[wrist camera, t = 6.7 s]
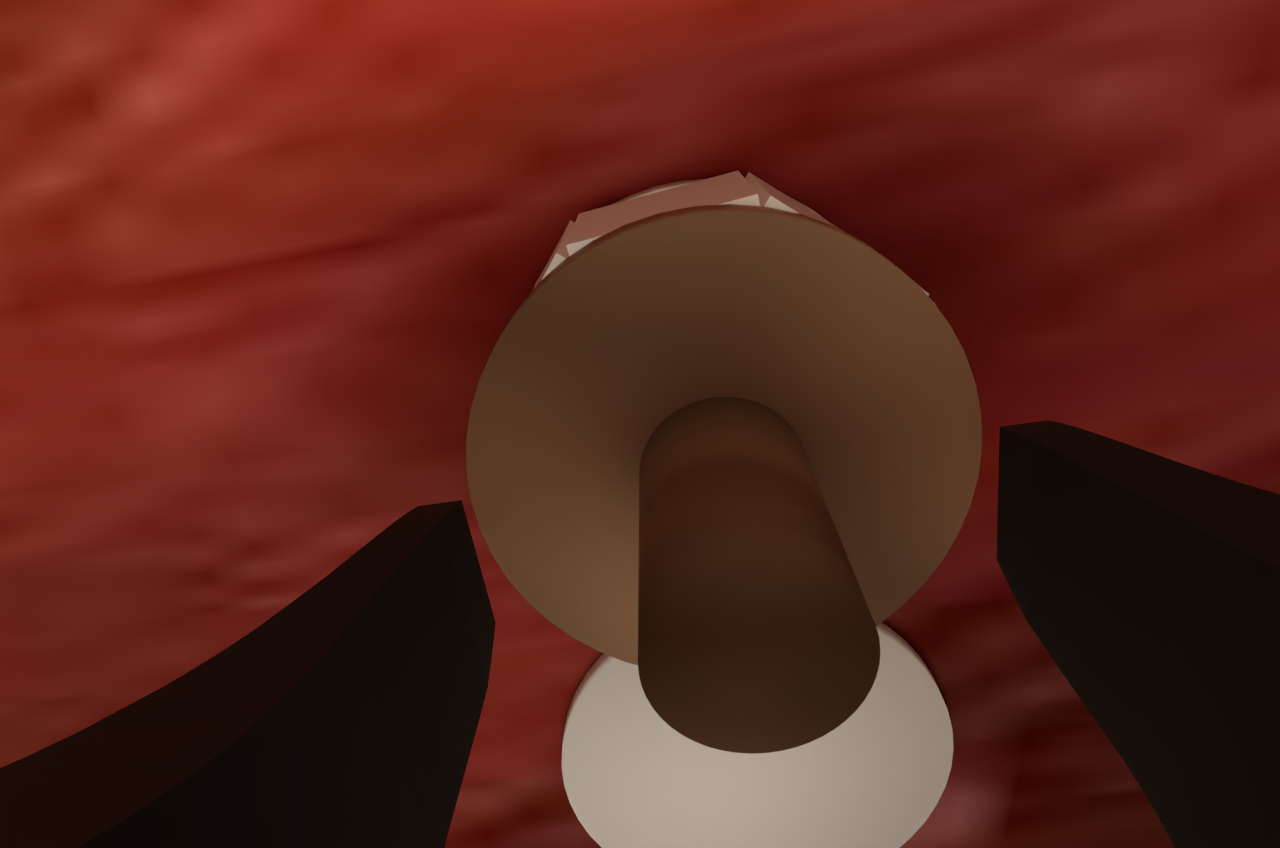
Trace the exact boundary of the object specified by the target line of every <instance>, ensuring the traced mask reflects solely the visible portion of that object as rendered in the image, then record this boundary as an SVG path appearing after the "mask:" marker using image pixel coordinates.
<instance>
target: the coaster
mask: <svg viewBox="0 0 1280 848" xmlns="http://www.w3.org/2000/svg"><path fill="white" fill-rule="evenodd" d="M876 628H877V631H878V635H879V640H880V664H879V668H878V672H877V676H876V679H875V681H874V684H873V686H872V688H871V690H870V692H869V694H868V695H867V697H866V699H865V700H864V701H863V703H862V704H861V705H860V707H859V708H858V709H857V710H856V711H855V712H854V713H853V714H852V715H851V716H850V717H849V718H848V719H847V720H846V721H845V722H843V723H842V724H841V725H840V726H838V727H837V728H836V729H834V730H832V731H831V732H829V733H828V734H826V735H824V736H822V737H820V738H818V739H816V740H814V741H812V742H810V743H807V744H804V745H801V746H798V747H795V748H791V749H787V750H783V751H777V752H770V753H755V754H749V753H735V752H728V751H722V750H718V749H714V748H711V747H707V746H705V745H702V744H700V743H697V742H694V741H693V740H691V739H689V738H687V737H685V736H683V735H681V734H680V733H679V732H677V731H676V730H674V729H673V728H671V727H670V726H669V725H668V724H667V723H666V722H665V721H664V720H662V719H661V717H660V716H659V715H658V714H657V713H656V711H655V710H654V709H653V708H652V706H651V704H650V703H649V701H648V699H647V698H646V695H645V693H644V691H643V688H642V686H641V681H640V677H639V671H638V665H635V664H631V663H627V662H624V661H622V660H619V659H617V658H614V657H612V656H609V655H607V654H604V653H603V654H602V655H601V656H600V657H599V658H598V660H597V661H596V662H595V663H594V664H593V666H592V667H591V668H590V669H589V671H588V672H587V673H586V675H585V677H584V678H583V680H582V682H581V683H580V685H579V687H578V688H577V690H576V692H575V695H574V697H573V700H572V702H571V705H570V707H569V710H568V714H567V719H566V724H565V728H564V737H563V745H562V773H563V780H564V786H565V789H566V792H567V796H568V799H569V802H570V804H571V806H572V808H573V810H574V812H575V814H576V816H577V818H578V820H579V821H580V823H581V824H582V825H583V827H584V828H585V830H586V831H587V832H588V834H589V835H590V836H591V837H592V838H593V839H594V840H595V841H596V842H597V843H598V844H599V846H600V847H601V848H900V847H901V846H902V845H903V844H904V843H905V842H907V841H908V840H909V839H910V838H911V837H912V836H913V835H914V834H915V833H916V832H917V830H918V829H919V828H920V827H921V826H922V825H923V824H924V823H925V821H926V820H927V819H928V817H929V816H930V814H931V813H932V811H933V810H934V808H935V807H936V805H937V803H938V801H939V799H940V797H941V795H942V793H943V791H944V789H945V787H946V784H947V780H948V777H949V773H950V770H951V765H952V757H953V749H954V748H953V730H952V725H951V721H950V717H949V713H948V709H947V707H946V705H945V702H944V700H943V698H942V696H941V693H940V691H939V689H938V687H937V685H936V682H935V680H934V678H933V676H932V674H931V672H930V671H929V669H928V668H927V666H926V665H925V663H924V662H923V660H922V659H921V657H920V656H919V655H918V654H917V653H916V652H915V651H914V649H913V648H912V647H911V646H910V645H909V644H908V643H907V642H906V641H905V640H904V639H903V638H902V637H900V636H899V635H898V634H897V633H895V632H894V631H893V630H892V629H890V628H889V627H888V626H886V625H885V624H883V623H880V624H879V625H877V626H876Z"/></svg>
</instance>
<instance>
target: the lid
mask: <svg viewBox="0 0 1280 848" xmlns="http://www.w3.org/2000/svg"><path fill="white" fill-rule="evenodd" d="M981 452H982V417H981V410H980V404H979V398H978V393H977V387H976V383H975V380H974V377H973V374H972V371H971V368H970V365H969V363H968V360H967V357H966V354H965V352H964V350H963V348H962V346H961V344H960V343H959V341H958V339H957V337H956V335H955V333H954V331H953V329H952V327H951V325H950V324H949V323H948V321H947V320H946V319H945V317H944V316H943V315H942V313H941V312H940V311H939V309H938V308H937V307H936V305H935V304H934V302H933V301H932V300H931V299H930V298H929V297H928V296H927V295H926V294H925V293H924V292H923V291H922V290H921V289H920V288H919V287H918V286H917V285H916V284H915V283H914V282H913V281H912V280H911V279H910V278H909V277H908V276H907V275H906V274H905V273H904V272H903V271H901V270H900V269H899V268H898V267H897V266H895V265H894V264H893V263H892V262H891V261H889V260H888V259H886V258H885V257H884V256H882V255H881V254H880V253H878V252H877V251H876V250H874V249H873V248H871V247H870V246H869V245H867V244H866V243H865V242H863V241H861V240H859V239H857V238H856V237H854V236H852V235H850V234H848V233H846V232H844V231H842V230H841V229H839V228H837V227H835V226H833V225H830V224H827V223H824V222H822V221H819V220H816V219H813V218H811V217H808V216H805V215H802V214H799V213H794V212H789V211H785V210H780V209H775V208H770V207H764V206H751V205H738V204H722V205H705V206H693V207H688V208H682V209H677V210H672V211H667V212H662V213H658V214H655V215H652V216H649V217H646V218H643V219H640V220H637V221H634V222H631V223H628V224H625V225H623V226H621V227H619V228H617V229H615V230H613V231H611V232H609V233H607V234H605V235H603V236H601V237H599V238H597V239H595V240H593V241H591V242H590V243H589V244H587V245H586V246H584V247H583V248H581V249H580V250H578V251H577V252H575V253H574V254H572V255H571V256H569V257H568V258H566V259H565V260H564V261H562V262H561V263H560V264H559V265H558V266H557V267H556V268H555V269H553V270H552V271H551V272H550V273H549V274H548V275H547V276H546V277H544V278H543V279H542V280H541V281H540V282H539V283H538V284H537V285H536V287H535V288H534V289H533V290H532V291H531V292H530V294H529V295H528V296H527V297H526V298H525V300H524V301H523V302H522V303H521V304H520V305H519V307H518V308H517V310H516V311H515V313H514V314H513V316H512V317H511V319H510V321H509V322H508V324H507V325H506V327H505V328H504V330H503V332H502V333H501V335H500V337H499V339H498V341H497V343H496V345H495V347H494V349H493V351H492V353H491V355H490V357H489V359H488V362H487V364H486V366H485V368H484V370H483V373H482V375H481V377H480V379H479V382H478V386H477V389H476V392H475V396H474V399H473V403H472V406H471V410H470V416H469V424H468V431H467V439H466V472H467V478H468V484H469V491H470V497H471V502H472V505H473V509H474V512H475V515H476V518H477V521H478V525H479V528H480V530H481V532H482V535H483V537H484V539H485V541H486V543H487V545H488V547H489V549H490V551H491V553H492V556H493V557H494V559H495V560H496V562H497V563H498V565H499V566H500V568H501V569H502V571H503V572H504V574H505V575H506V577H507V578H508V580H509V581H510V582H511V583H512V584H513V586H514V587H515V588H516V589H517V590H518V591H519V593H520V594H521V595H522V596H523V597H524V598H525V600H526V601H527V602H528V603H529V604H531V605H532V606H533V607H534V608H535V609H536V610H537V611H538V612H539V613H541V614H542V615H543V616H544V617H545V618H546V619H547V620H548V621H550V622H551V623H553V624H554V625H555V626H557V627H558V628H560V629H561V630H563V631H564V632H565V633H567V634H568V635H570V636H571V637H573V638H575V639H576V640H578V641H580V642H582V643H584V644H586V645H588V646H589V647H591V648H593V649H595V650H597V651H599V652H602V653H604V654H607V655H609V656H612V657H614V658H617V659H619V660H622V661H624V662H627V663H631V664H635V665H638V671H639V677H640V681H641V686H642V688H643V691H644V693H645V695H646V698H647V699H648V701H649V703H650V704H651V706H652V708H653V709H654V710H655V711H656V713H657V714H658V715H659V716H660V717H661V719H662V720H664V721H665V722H666V723H667V724H668V725H669V726H670V727H671V728H673V729H674V730H676V731H677V732H679V733H680V734H681V735H683V736H685V737H687V738H689V739H691V740H693V741H694V742H697V743H700V744H702V745H705V746H707V747H711V748H714V749H718V750H722V751H728V752H735V753H749V754H755V753H770V752H777V751H783V750H787V749H791V748H795V747H798V746H801V745H804V744H807V743H810V742H812V741H814V740H816V739H818V738H820V737H822V736H824V735H826V734H828V733H829V732H831V731H832V730H834V729H836V728H837V727H838V726H840V725H841V724H842V723H843V722H845V721H846V720H847V719H848V718H849V717H850V716H851V715H852V714H853V713H854V712H855V711H856V710H857V709H858V708H859V707H860V705H861V704H862V703H863V701H864V700H865V699H866V697H867V695H868V694H869V692H870V690H871V688H872V686H873V684H874V681H875V679H876V676H877V672H878V668H879V664H880V640H879V635H878V631H877V628H876V626H877V625H879V624H880V623H882V622H883V621H884V620H885V619H887V618H888V617H889V616H890V615H892V614H893V613H894V612H895V611H896V610H898V609H899V608H900V607H901V606H903V605H904V604H905V603H906V602H907V601H908V600H909V599H910V598H911V597H912V596H913V595H914V594H915V593H916V592H917V591H918V590H919V589H920V588H921V587H922V586H923V585H924V584H925V583H926V581H927V580H928V579H929V577H930V576H931V575H932V573H933V572H934V571H935V570H936V568H937V567H938V566H939V564H940V563H941V562H942V560H943V559H944V558H945V556H946V554H947V552H948V551H949V549H950V547H951V546H952V544H953V542H954V541H955V539H956V537H957V535H958V534H959V532H960V529H961V527H962V525H963V522H964V520H965V518H966V515H967V513H968V510H969V508H970V506H971V502H972V499H973V495H974V491H975V487H976V484H977V480H978V476H979V468H980V460H981Z"/></svg>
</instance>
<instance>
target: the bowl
mask: <svg viewBox="0 0 1280 848" xmlns="http://www.w3.org/2000/svg"><path fill="white" fill-rule="evenodd" d="M722 204H738V205H751V206H764V207H770V208H775V209H780V210H785V211H789V212H794V213H799V214H802V215H805V216H808V217H811V218H813V219H816V220H819V221H822V222H824V223H827V224H830V225H833V224H832V223H830V222H829V221H827V220H826V219H825V218H823V217H822V216H821V215H819V214H818V213H816V212H815V211H814V210H812V209H811V208H810V207H808V206H806V205H804V204H802V203H800V202H798V201H797V200H795V199H793V198H791V197H789V196H787V195H785V194H783V193H782V192H780V191H779V190H777V189H775V188H774V187H772V186H771V185H769V184H767V183H766V182H764V181H763V180H761V179H759V178H758V177H756V176H755V175H753V174H751V173H750V172H749V173H748V174H747V176H746V177H745V178H744V177H743V176H742V174H741V173H740V172H739V171H734V172H730V173H727V174H723V175H719V176H716V177H712V178H708V179H698V180H683V181H678V182H673V183H668V184H663V185H658V186H655V187H652V188H649V189H646V190H643V191H640V192H637V193H634V194H632V195H630V196H628V197H626V198H624V199H622V200H620V201H618V202H616V203H614V204H612V205H609V206H605V207H601V208H597V209H594V210H590V211H586V212H583V213H579V214H578V217H577V219H576V222H573V221H571V220H570V222H569V224H568V226H567V228H566V229H565V231H564V233H563V235H562V237H561V239H560V240H559V242H558V244H557V246H556V248H555V250H554V252H553V253H552V255H551V257H550V259H549V261H548V263H547V265H546V266H545V268H544V270H543V272H542V273H541V275H540V276H539V278H538V280H537V282H536V284H535V286H534V288H535V287H536V285H537V284H538V283H539V282H540V281H541V280H542V279H543V278H544V277H546V276H547V275H548V274H549V273H550V272H551V271H552V270H553V269H555V268H556V267H557V266H558V265H559V264H560V263H561V262H562V261H564V260H565V259H566V258H568V257H569V256H571V255H572V254H574V253H575V252H577V251H578V250H580V249H581V248H583V247H584V246H586V245H587V244H589V243H590V242H591V241H593V240H595V239H597V238H599V237H601V236H603V235H605V234H607V233H609V232H611V231H613V230H615V229H617V228H619V227H621V226H623V225H625V224H628V223H631V222H634V221H637V220H640V219H643V218H646V217H649V216H652V215H655V214H658V213H662V212H667V211H672V210H677V209H682V208H688V207H693V206H705V205H722ZM833 226H835V225H833ZM835 227H836V226H835ZM837 228H838V227H837ZM839 229H840V228H839ZM842 231H843V230H842ZM882 256H883V255H882ZM910 279H911V278H910ZM911 280H912V279H911ZM912 281H913V280H912ZM913 282H914V281H913ZM914 283H915V282H914ZM915 284H916V285H917V286H918V287H919V288H920V289H921V290H922V291H923V292H924V293H925V294H926V295H927V296H929V295H930V294H929V293H928V292H926V291H925V290H924V289H923V288H922V287H920V286H919V285H918V284H917V283H915ZM934 304H935V303H934ZM935 305H936V304H935Z"/></svg>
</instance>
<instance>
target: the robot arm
mask: <svg viewBox="0 0 1280 848" xmlns="http://www.w3.org/2000/svg"><path fill="white" fill-rule="evenodd" d="M997 561H998V563H999V565H1000V567H1001V569H1002V571H1003V573H1004V576H1005V578H1006V580H1007V582H1008V584H1009V586H1010V588H1011V590H1012V592H1013V594H1014V596H1015V598H1016V600H1017V602H1018V604H1019V606H1020V608H1021V610H1022V612H1023V614H1024V616H1025V618H1026V620H1027V621H1028V623H1029V624H1030V626H1031V627H1032V629H1033V630H1034V632H1035V633H1036V635H1037V636H1038V638H1039V639H1040V641H1041V642H1042V644H1043V645H1044V647H1045V648H1046V650H1047V651H1048V653H1049V654H1050V655H1051V657H1052V658H1053V660H1054V661H1055V663H1056V664H1057V666H1058V667H1059V669H1060V670H1061V671H1062V673H1063V674H1064V676H1065V677H1066V679H1067V680H1068V681H1069V683H1070V684H1071V686H1072V687H1073V689H1074V690H1075V691H1076V693H1077V694H1078V696H1079V697H1080V699H1081V700H1082V701H1083V703H1084V704H1085V706H1086V707H1087V709H1088V710H1089V711H1090V713H1091V714H1092V716H1093V717H1094V719H1095V720H1096V721H1097V723H1098V724H1099V726H1100V727H1101V729H1102V730H1103V731H1104V733H1105V734H1106V736H1107V737H1108V739H1109V740H1110V741H1111V743H1112V744H1113V746H1114V747H1115V749H1116V750H1117V751H1118V753H1119V754H1120V756H1121V757H1122V759H1123V760H1124V761H1125V763H1126V764H1127V766H1128V768H1129V769H1130V771H1131V772H1132V774H1133V775H1134V777H1135V779H1136V780H1137V782H1138V783H1139V785H1140V786H1141V788H1142V790H1143V791H1144V793H1145V794H1146V796H1147V797H1148V799H1149V801H1150V803H1151V804H1152V806H1153V808H1154V810H1155V812H1156V813H1157V815H1158V817H1159V819H1160V821H1161V822H1162V824H1163V826H1164V828H1165V830H1166V832H1167V833H1168V835H1169V837H1170V839H1171V841H1172V842H1173V844H1174V846H1175V848H1280V495H1279V494H1276V493H1272V492H1269V491H1266V490H1262V489H1259V488H1256V487H1252V486H1249V485H1246V484H1242V483H1239V482H1236V481H1233V480H1230V479H1227V478H1224V477H1220V476H1217V475H1214V474H1211V473H1208V472H1205V471H1202V470H1199V469H1196V468H1193V467H1190V466H1187V465H1184V464H1182V463H1179V462H1176V461H1173V460H1170V459H1167V458H1164V457H1161V456H1158V455H1156V454H1153V453H1150V452H1147V451H1144V450H1141V449H1139V448H1136V447H1133V446H1130V445H1127V444H1124V443H1121V442H1119V441H1116V440H1113V439H1110V438H1107V437H1104V436H1101V435H1098V434H1095V433H1092V432H1089V431H1086V430H1083V429H1080V428H1077V427H1073V426H1070V425H1066V424H1062V423H1058V422H1053V421H1040V422H1033V423H1026V424H1018V425H1011V426H1004V427H1000V445H999V487H998V529H997ZM494 630H495V620H494V616H493V612H492V609H491V605H490V601H489V598H488V594H487V591H486V587H485V583H484V580H483V576H482V573H481V569H480V565H479V562H478V558H477V555H476V551H475V547H474V544H473V540H472V536H471V533H470V529H469V526H468V522H467V518H466V515H465V511H464V508H463V504H462V500H461V501H454V502H446V503H439V504H432V505H424V506H418V507H416V508H415V509H413V510H411V511H410V512H408V513H407V514H405V515H404V516H402V517H401V518H400V519H398V520H397V521H396V522H394V523H393V524H392V525H390V526H389V527H388V528H386V529H385V530H384V531H383V532H381V533H380V534H379V535H378V536H376V537H375V538H374V539H373V540H371V541H370V542H369V543H368V544H366V545H365V546H364V547H363V548H361V549H360V550H359V551H358V552H356V553H355V554H354V555H353V556H351V557H350V558H349V559H348V560H346V561H345V562H344V563H343V564H341V565H340V566H339V567H338V568H336V569H335V570H334V571H333V572H331V573H330V574H329V575H328V576H326V577H325V578H324V579H323V580H321V581H320V582H319V583H317V584H316V585H315V586H313V587H312V588H311V589H309V590H308V591H307V592H305V593H304V594H303V595H301V596H300V597H299V598H297V599H296V600H294V601H293V602H292V603H290V604H289V605H288V606H286V607H285V608H284V609H282V610H281V611H280V612H278V613H277V614H275V615H274V616H273V617H271V618H270V619H269V620H267V621H266V622H265V623H263V624H262V625H261V626H259V627H258V628H256V629H255V630H253V631H252V632H251V633H249V634H248V635H246V636H245V637H243V638H242V639H240V640H239V641H237V642H236V643H234V644H233V645H231V646H230V647H228V648H227V649H225V650H223V651H222V652H220V653H219V654H217V655H215V656H214V657H212V658H211V659H209V660H207V661H206V662H204V663H202V664H201V665H199V666H198V667H196V668H194V669H193V670H191V671H190V672H188V673H186V674H185V675H183V676H181V677H180V678H178V679H176V680H174V681H173V682H171V683H169V684H168V685H166V686H164V687H162V688H160V689H159V690H157V691H155V692H153V693H151V694H149V695H147V696H145V697H144V698H142V699H140V700H138V701H136V702H134V703H132V704H130V705H129V706H127V707H125V708H123V709H121V710H119V711H117V712H115V713H114V714H112V715H110V716H108V717H106V718H104V719H102V720H100V721H99V722H97V723H95V724H93V725H91V726H89V727H87V728H85V729H84V730H82V731H80V732H77V733H75V734H73V735H71V736H69V737H67V738H65V739H63V740H61V741H59V742H57V743H55V744H52V745H50V746H48V747H46V748H44V749H42V750H40V751H38V752H36V753H33V754H31V755H29V756H27V757H25V758H23V759H20V760H18V761H16V762H14V763H11V764H9V765H7V766H5V767H2V768H0V848H444V847H445V843H446V839H447V835H448V831H449V827H450V824H451V820H452V817H453V813H454V809H455V806H456V802H457V798H458V795H459V791H460V787H461V784H462V780H463V777H464V773H465V769H466V766H467V762H468V758H469V755H470V751H471V748H472V744H473V740H474V737H475V733H476V729H477V725H478V722H479V718H480V714H481V710H482V706H483V703H484V699H485V695H486V691H487V687H488V680H489V672H490V665H491V658H492V649H493V639H494Z"/></svg>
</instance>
